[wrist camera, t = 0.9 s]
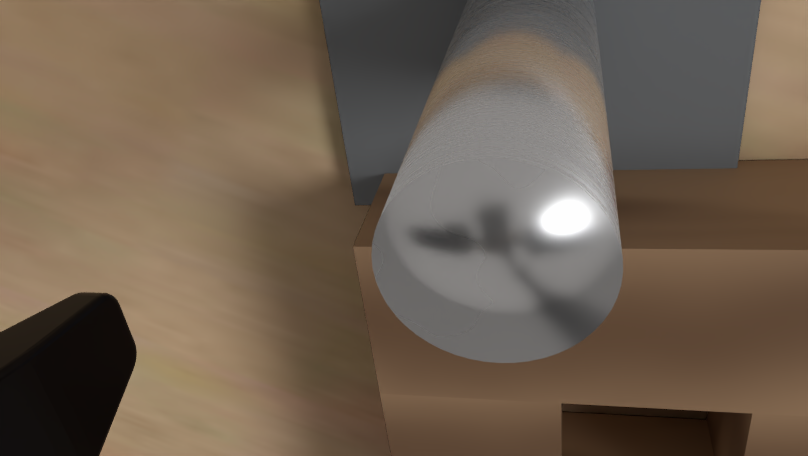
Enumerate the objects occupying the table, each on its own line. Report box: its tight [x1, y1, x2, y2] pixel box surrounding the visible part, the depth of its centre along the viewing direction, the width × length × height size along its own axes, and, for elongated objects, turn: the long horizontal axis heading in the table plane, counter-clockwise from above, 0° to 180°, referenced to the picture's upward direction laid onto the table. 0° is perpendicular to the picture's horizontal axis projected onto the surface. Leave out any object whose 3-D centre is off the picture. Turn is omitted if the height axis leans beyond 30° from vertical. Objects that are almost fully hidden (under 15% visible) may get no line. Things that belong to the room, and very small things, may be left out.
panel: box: [319, 0, 761, 205], centre depth 17 cm, size 10×10×1 cm
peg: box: [371, 0, 623, 363], centre depth 13 cm, size 3×3×10 cm
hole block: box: [353, 160, 808, 456], centre depth 21 cm, size 14×14×4 cm
